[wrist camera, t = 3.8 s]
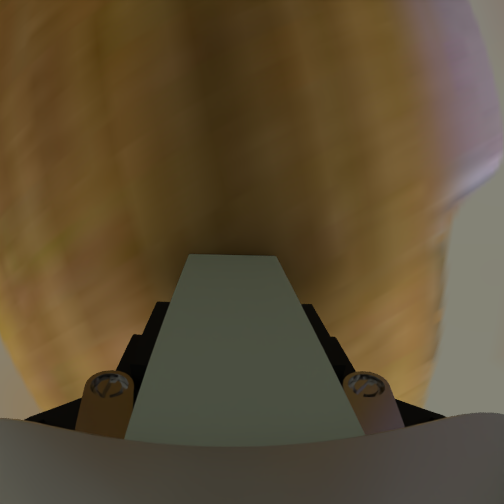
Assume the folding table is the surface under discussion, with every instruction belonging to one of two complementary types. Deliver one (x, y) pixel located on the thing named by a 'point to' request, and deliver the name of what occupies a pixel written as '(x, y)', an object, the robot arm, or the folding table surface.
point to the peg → (239, 363)
